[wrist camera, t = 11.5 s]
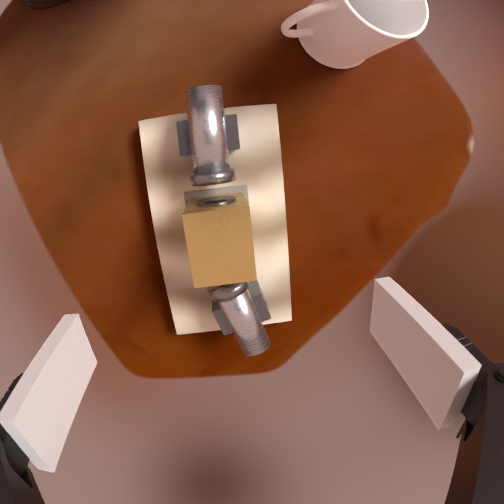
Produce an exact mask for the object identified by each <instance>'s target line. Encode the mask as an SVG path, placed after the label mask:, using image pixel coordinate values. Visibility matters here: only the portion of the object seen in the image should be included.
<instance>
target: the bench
mask: <svg viewBox="0 0 504 504" xmlns="http://www.w3.org/2000/svg"><path fill="white" fill-rule="evenodd" d="M231 114H237V122H238V132H239V142H240V149H237V150H228V154H229V163H230V167H235V174H236V180H235V181H232V182H228V183H223V184H217V185H209V186H191V183H190V176H189V173H191V172H194V169H193V160H192V155H189V156H182V157H180V153H179V144H178V135H177V126H176V122H177V121H184V120H188V116H187V113H182V114H176V115H170V116H164V117H158V118H153V119H147V120H142V121H139V129H140V138H141V147H142V154H143V162H144V169H145V176H146V183H147V190H148V196H149V202H150V208H151V214H152V220H153V226H154V231H155V237H156V242H157V247H158V252H159V257H160V262H161V267H162V272H163V277H164V281H165V286H166V290H167V295H168V299H169V303H170V308H171V312H172V316H173V320H174V324H175V328H176V332H177V335H178V334H188V333H198V332H208V331H217V330H221V329H220V327H219V325H218V323H217V321H216V319H215V317H214V315H213V313H212V298H211V296H210V294H209V292H208V290H207V287H202V288H194V283H193V278H192V273H191V267H190V261H189V256H188V250H187V244H186V238H185V232H184V226H183V219H182V213H183V211H184V209H185V207H186V205H187V203H188V201H189V199H190V198H196V197H204V196H211V195H219V194H227V193H235V192H243V194H244V196H245V198H246V200H247V202H248V204H249V207H250V217H251V226H252V236H253V246H254V256H255V266H256V276H257V280H258V282H259V285H260V287H261V290H262V292H263V295H264V297H265V300H266V302H267V306H268V309H269V312H270V316H271V319H269V320H266V321H264V322H262V324H263V325H264V324H271V323H278V322H285V321H291V320H292V317H291V295H290V275H289V258H288V241H287V226H286V211H285V197H284V184H283V172H282V160H281V148H280V137H279V126H278V116H277V105H276V104H265V105H252V106H240V107H230V108H224V115H231Z"/></svg>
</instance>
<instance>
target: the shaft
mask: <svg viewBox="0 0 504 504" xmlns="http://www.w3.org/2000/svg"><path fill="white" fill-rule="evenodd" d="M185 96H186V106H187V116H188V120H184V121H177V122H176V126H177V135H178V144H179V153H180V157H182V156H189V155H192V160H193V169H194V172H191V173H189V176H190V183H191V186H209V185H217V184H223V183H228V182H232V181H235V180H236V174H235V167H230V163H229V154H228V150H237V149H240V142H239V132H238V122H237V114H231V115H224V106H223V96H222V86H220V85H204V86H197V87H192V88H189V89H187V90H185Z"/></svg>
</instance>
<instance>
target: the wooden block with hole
mask: <svg viewBox="0 0 504 504" xmlns="http://www.w3.org/2000/svg"><path fill="white" fill-rule="evenodd" d="M182 219H183V226H184V232H185V238H186V244H187V250H188V256H189V261H190V267H191V273H192V278H193V283H194V288H202V287H210V286H218V285H226V284H234V283H242V282H250V281H257V276H256V266H255V256H254V246H253V236H252V226H251V217H250V207H249V204H248V202H247V200H246V198H245V196H244V194H243V192H235V193H227V194H219V195H211V196H204V197H196V198H190V199H189V201H188V203H187V205H186V207H185V209H184V211H183V213H182Z"/></svg>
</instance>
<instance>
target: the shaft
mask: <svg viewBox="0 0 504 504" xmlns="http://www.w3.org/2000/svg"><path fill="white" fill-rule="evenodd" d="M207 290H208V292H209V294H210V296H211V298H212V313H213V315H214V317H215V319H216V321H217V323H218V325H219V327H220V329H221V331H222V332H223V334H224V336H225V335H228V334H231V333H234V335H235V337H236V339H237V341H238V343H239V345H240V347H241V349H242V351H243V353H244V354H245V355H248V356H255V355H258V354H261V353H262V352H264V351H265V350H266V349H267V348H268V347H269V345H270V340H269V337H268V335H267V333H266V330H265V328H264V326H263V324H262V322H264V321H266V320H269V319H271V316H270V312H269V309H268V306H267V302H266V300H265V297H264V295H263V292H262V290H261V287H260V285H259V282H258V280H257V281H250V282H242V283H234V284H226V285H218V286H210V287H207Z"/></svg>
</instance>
